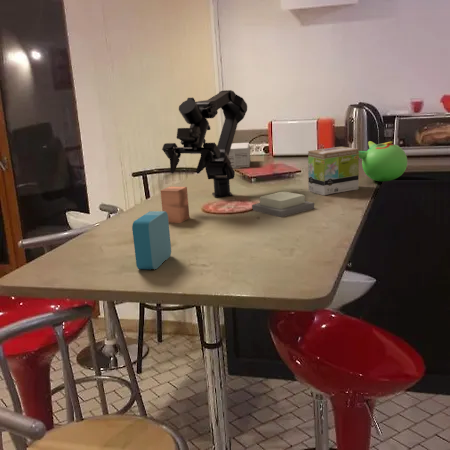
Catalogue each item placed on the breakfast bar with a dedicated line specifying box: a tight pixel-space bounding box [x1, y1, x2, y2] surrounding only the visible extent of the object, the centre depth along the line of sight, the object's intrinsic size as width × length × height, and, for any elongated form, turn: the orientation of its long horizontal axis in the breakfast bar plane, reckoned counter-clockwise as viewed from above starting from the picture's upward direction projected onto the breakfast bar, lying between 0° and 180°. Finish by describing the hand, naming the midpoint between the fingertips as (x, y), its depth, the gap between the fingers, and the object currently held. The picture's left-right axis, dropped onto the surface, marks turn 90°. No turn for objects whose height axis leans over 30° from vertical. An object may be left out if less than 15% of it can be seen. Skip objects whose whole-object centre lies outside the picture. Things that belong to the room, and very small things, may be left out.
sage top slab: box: [259, 190, 306, 209], centre depth 190 cm, size 10×10×2 cm
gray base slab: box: [251, 200, 315, 218], centre depth 191 cm, size 14×14×2 cm
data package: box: [131, 210, 172, 270], centre depth 146 cm, size 12×4×12 cm, turn 164°
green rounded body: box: [359, 140, 408, 183], centre depth 220 cm, size 18×17×15 cm
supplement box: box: [229, 142, 251, 169], centre depth 277 cm, size 17×13×9 cm
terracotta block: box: [160, 185, 190, 224], centre depth 186 cm, size 6×6×10 cm
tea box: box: [307, 146, 360, 196], centre depth 210 cm, size 15×10×15 cm
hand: (184, 172), depth 190 cm, fingers open, 9 cm apart
